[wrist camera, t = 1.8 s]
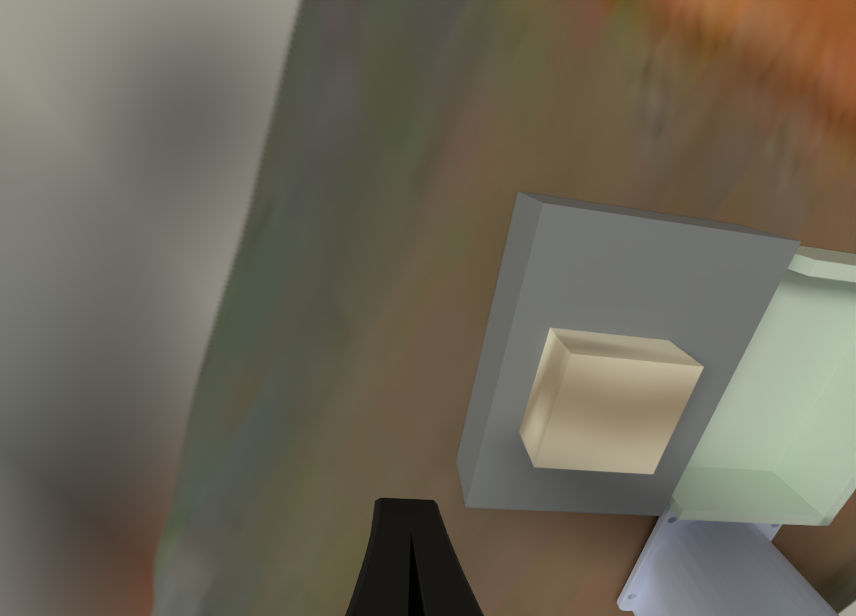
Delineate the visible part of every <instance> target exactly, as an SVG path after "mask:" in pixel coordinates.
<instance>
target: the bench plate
mask: <svg viewBox="0 0 856 616" xmlns="http://www.w3.org/2000/svg"><path fill="white" fill-rule="evenodd" d="M800 243H801V241H797V240H794V239H790V238H786V237H782V236H779V235H775V234H771V233H767V232H764V231H760V230H756V229H752V228H749V227H745V226H741V225H737V224H730V223H724V222H717V221H711V220H704V219H697V218H691V217H684V216H678V215H671V214H664V213H658V212H651V211H645V210H638V209H632V208H625V207H618V206H612V205H605V204H599V203H592V202H586V201H579V200H572V199H566V198H559V197H553V196H546V195H540V194H533V193H526V192H520V191H518V192H517V197H516V201H515V206H514V210H513V214H512V219H511V223H510V227H509V232H508V236H507V240H506V245H505V249H504V254H503V258H502V262H501V267H500V271H499V275H498V280H497V284H496V289H495V293H494V297H493V302H492V306H491V310H490V315H489V319H488V324H487V328H486V332H485V337H484V341H483V345H482V350H481V354H480V358H479V363H478V367H477V372H476V376H475V380H474V385H473V389H472V393H471V398H470V402H469V407H468V411H467V415H466V420H465V424H464V428H463V433H462V437H461V442H460V446H459V450H458V455H457V459H456V461H457V466H458V471H459V477H460V482H461V487H462V492H463V497H464V502H465V507H468V508H491V509H513V510H536V511H558V512H581V513H603V514H626V515H649V516H662V514H663V512H664V510H665V508H666V506H667V504H668V502H669V500H670V498H671V496H672V494H673V492H674V490H675V488H676V486H677V484H678V482H679V480H680V478H681V476H682V474H683V472H684V471H685V469H686V467H687V465H688V463H689V461H690V459H691V457H692V455H693V453H694V451H695V449H696V447H697V445H698V443H699V441H700V439H701V437H702V435H703V433H704V431H705V429H706V427H707V425H708V423H709V421H710V419H711V417H712V416H713V414H714V412H715V410H716V408H717V406H718V404H719V402H720V400H721V398H722V396H723V394H724V392H725V390H726V388H727V386H728V384H729V382H730V380H731V378H732V376H733V374H734V372H735V370H736V368H737V366H738V364H739V363H740V361H741V359H742V357H743V355H744V353H745V351H746V349H747V347H748V345H749V343H750V341H751V339H752V337H753V335H754V333H755V331H756V329H757V327H758V325H759V323H760V321H761V319H762V317H763V315H764V313H765V311H766V309H767V308H768V306H769V304H770V302H771V300H772V298H773V296H774V294H775V292H776V290H777V288H778V286H779V284H780V282H781V280H782V278H783V276H784V274H785V272H786V270H787V268H788V266H789V264H790V262H791V260H792V258H793V256H794V254H795V253H796V251H797V249H798V247H799V245H800ZM550 328H557V329H567V330H576V331H585V332H595V333H604V334H613V335H623V336H632V337H641V338H651V339H660V340H669V341H670V342H672V343H673V344H674V345H676V346H677V347H678V348H680V349H681V350H682V351H684V352H685V353H686V354H688V355H689V356H690V357H692V358H693V359H694V360H696V361H697V362H698V363H700V364H701V365H702V366H704V368H703V370H702V372H701V374H700V376H699V378H698V381H697V383H696V385H695V387H694V389H693V391H692V393H691V395H690V397H689V400H688V402H687V404H686V406H685V408H684V410H683V412H682V414H681V416H680V419H679V421H678V423H677V425H676V427H675V429H674V431H673V433H672V435H671V438H670V440H669V442H668V444H667V446H666V448H665V450H664V452H663V454H662V457H661V459H660V461H659V463H658V465H657V467H656V469H655V471H654V474H638V473H621V472H604V471H587V470H570V469H553V468H537V467H534V466H533V464H532V462H531V459H530V457H529V454H528V452H527V450H526V447H525V445H524V443H523V440H522V438H521V436H520V433H519V431H520V428H521V424H522V421H523V417H524V414H525V411H526V407H527V404H528V400H529V397H530V394H531V390H532V387H533V383H534V380H535V377H536V373H537V370H538V366H539V363H540V360H541V356H542V353H543V350H544V346H545V343H546V339H547V336H548V333H549V329H550Z"/></svg>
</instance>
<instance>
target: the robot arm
mask: <svg viewBox="0 0 856 616" xmlns="http://www.w3.org/2000/svg"><path fill="white" fill-rule="evenodd" d="M781 526H782V524H769V523H746V522H723V521H700V520H678V518H677V517H676V516H675V514H674V513H673V512H672V510H671V509H670V508H669V506H668V505H667V506H666V508H665V510H664V512H663V514H662V516H660V517H659V519H658V521H657V523H656V525H655V527H654V529H653V531H652V533H651V535H650V537H649V539H648V541H647V543H646V545H645V547H644V549H643V551H642V553H641V555H640V557H639V559H638V560H637V562H636V564H635V566H634V568H633V570H632V572H631V574H630V576H629V578H628V580H627V582H626V584H625V586H624V588H623V590H622V592H621V594H620V596H619V598H618V600H617V604H618V606H619V609H621V610H623V611H633V613H634V615H635V616H839V615H838V614H837V613H836V612H835V611H834V610H833V609H832V607H831V606H830V605H829V604H828V603H827V602H826V601H825V600H824V599H823V598H822V597H821V596H820V595H819V593H818V592H817V591H816V590H815V589H814V588H813V587H812V586H811V585H810V584H809V583H808V582H807V580H806V579H805V578H804V577H803V576H802V575H801V574H800V573H799V572H798V571H797V570H796V569H795V567H794V566H793V565H792V564H791V563H790V562H789V561H788V560H787V559H786V558H785V557H784V556H783V555H782V553H781V552H780V551H779V550H778V549H777V548H776V547H775V546H774V545H773V544H772V543H771V541H772V539H773V538H774V536H775V535H776V533H777V532H778V530H779V529H780V527H781ZM345 616H484V615H483V613H482V611H481V609H480V607H479V605H478V603H477V601H476V598H475V596H474V594H473V592H472V590H471V588H470V586H469V583H468V581H467V579H466V577H465V575H464V573H463V570H462V568H461V566H460V563H459V561H458V559H457V556H456V554H455V551H454V549H453V547H452V544H451V542H450V539H449V536H448V534H447V531H446V528H445V526H444V523H443V520H442V517H441V514H440V511H439V508H438V505H437V503H436V502H435V501H434V500H421V499H398V498H379V499H378V500H376V501H375V505H374V512H373V520H372V527H371V534H370V539H369V543H368V546H367V550H366V554H365V558H364V561H363V564H362V567H361V571H360V574H359V577H358V580H357V583H356V586H355V589H354V593H353V596H352V598H351V601H350V604H349V607H348V610H347V612H346V615H345Z"/></svg>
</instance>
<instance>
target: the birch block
mask: <svg viewBox="0 0 856 616" xmlns="http://www.w3.org/2000/svg"><path fill="white" fill-rule="evenodd" d="M703 368H704V366H702V365H701V364H700V363H698V362H697V361H696V360H694V359H693V358H692V357H690V356H689V355H688V354H686V353H685V352H684V351H682V350H681V349H680V348H678V347H677V346H676V345H674V344H673V343H672V342H670V341H669V340H660V339H651V338H641V337H632V336H623V335H613V334H604V333H595V332H585V331H576V330H567V329H557V328H550V329H549V333H548V336H547V339H546V343H545V346H544V350H543V353H542V356H541V360H540V363H539V366H538V370H537V373H536V377H535V380H534V383H533V387H532V390H531V394H530V397H529V400H528V404H527V407H526V411H525V414H524V417H523V421H522V424H521V428H520V431H519V433H520V436H521V438H522V440H523V443H524V445H525V447H526V450H527V452H528V454H529V457H530V459H531V462H532V464H533V466H534V467H537V468H553V469H570V470H587V471H604V472H621V473H638V474H654V471H655V469H656V467H657V465H658V463H659V461H660V459H661V457H662V454H663V452H664V450H665V448H666V446H667V444H668V442H669V440H670V438H671V435H672V433H673V431H674V429H675V427H676V425H677V423H678V421H679V419H680V416H681V414H682V412H683V410H684V408H685V406H686V404H687V402H688V400H689V397H690V395H691V393H692V391H693V389H694V387H695V385H696V383H697V381H698V378H699V376H700V374H701V372H702V370H703Z"/></svg>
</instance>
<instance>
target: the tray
mask: <svg viewBox="0 0 856 616" xmlns="http://www.w3.org/2000/svg"><path fill="white" fill-rule="evenodd" d="M855 489H856V254H852V253H845V252H838V251H832V250H825V249H818V248H811V247H804V246H799V247H798V249H797V251H796V253H795V254H794V256H793V258H792V260H791V262H790V264H789V266H788V268H787V270H786V272H785V274H784V276H783V278H782V280H781V282H780V284H779V286H778V288H777V290H776V292H775V294H774V296H773V298H772V300H771V302H770V304H769V306H768V308H767V309H766V311H765V313H764V315H763V317H762V319H761V321H760V323H759V325H758V327H757V329H756V331H755V333H754V335H753V337H752V339H751V341H750V343H749V345H748V347H747V349H746V351H745V353H744V355H743V357H742V359H741V361H740V363H739V364H738V366H737V368H736V370H735V372H734V374H733V376H732V378H731V380H730V382H729V384H728V386H727V388H726V390H725V392H724V394H723V396H722V398H721V400H720V402H719V404H718V406H717V408H716V410H715V412H714V414H713V416H712V417H711V419H710V421H709V423H708V425H707V427H706V429H705V431H704V433H703V435H702V437H701V439H700V441H699V443H698V445H697V447H696V449H695V451H694V453H693V455H692V457H691V459H690V461H689V463H688V465H687V467H686V469H685V471H684V472H683V474H682V476H681V478H680V480H679V482H678V484H677V486H676V488H675V490H674V492H673V494H672V496H671V498H670V500H669V502H668V504H667V505H668V506H669V508H670V509H671V510H672V512H673V513H674V514H675V516H676V517H677V518H678V520H700V521H723V522H746V523H769V524H792V525H815V526H829V524H830V523H831V522H832V520H833V519H834V517H835V516H836V515H837V513H838V512H839V511H840V509H841V508H842V507H843V505H844V504H845V502H846V501H847V500H848V498H849V497H850V496H851V494H852V493H853V492H854V490H855Z"/></svg>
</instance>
